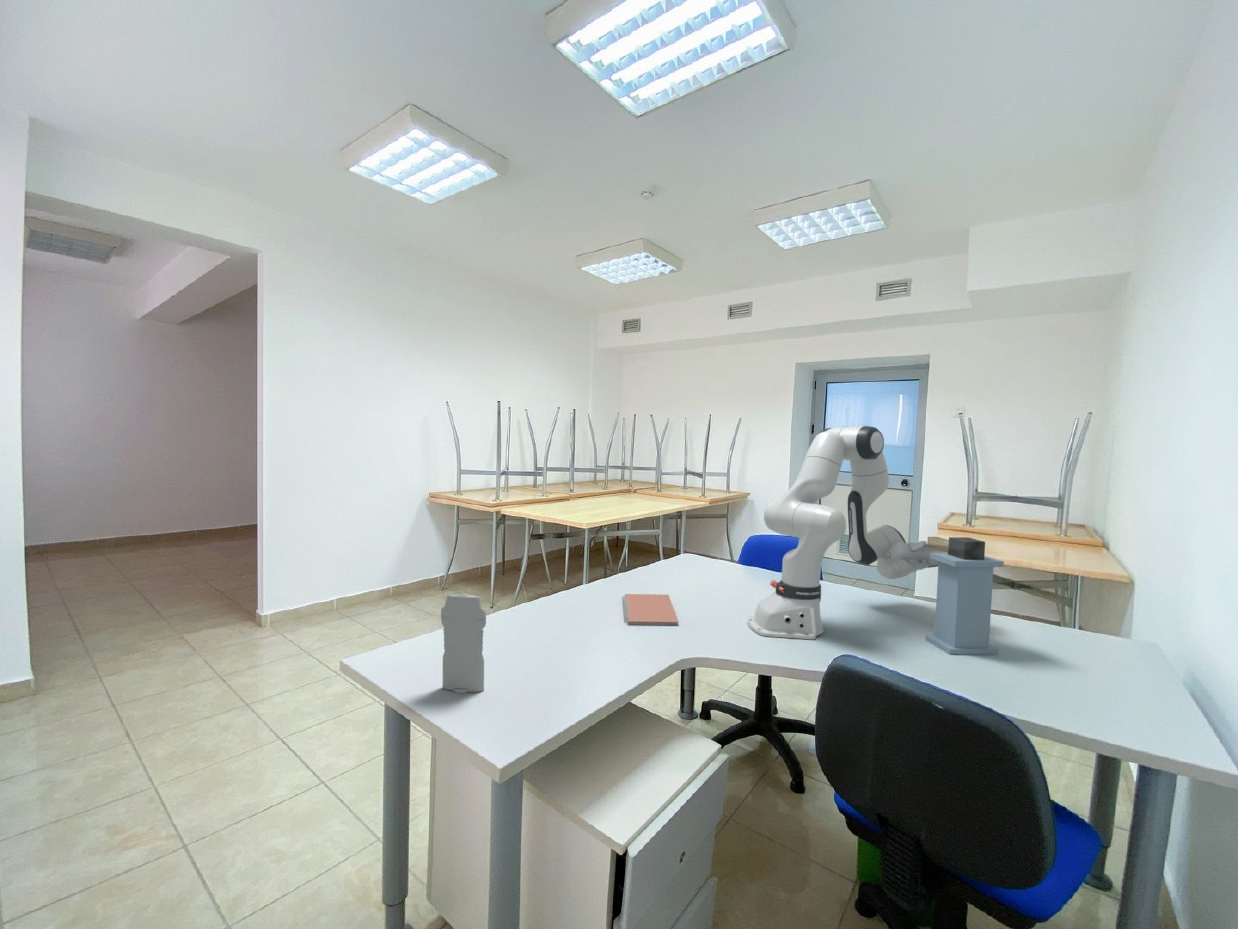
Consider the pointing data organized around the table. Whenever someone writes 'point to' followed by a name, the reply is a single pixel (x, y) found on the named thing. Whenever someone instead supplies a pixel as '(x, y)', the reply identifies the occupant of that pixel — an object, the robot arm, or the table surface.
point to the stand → (963, 605)
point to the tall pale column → (463, 643)
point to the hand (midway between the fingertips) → (939, 543)
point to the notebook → (649, 609)
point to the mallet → (959, 547)
